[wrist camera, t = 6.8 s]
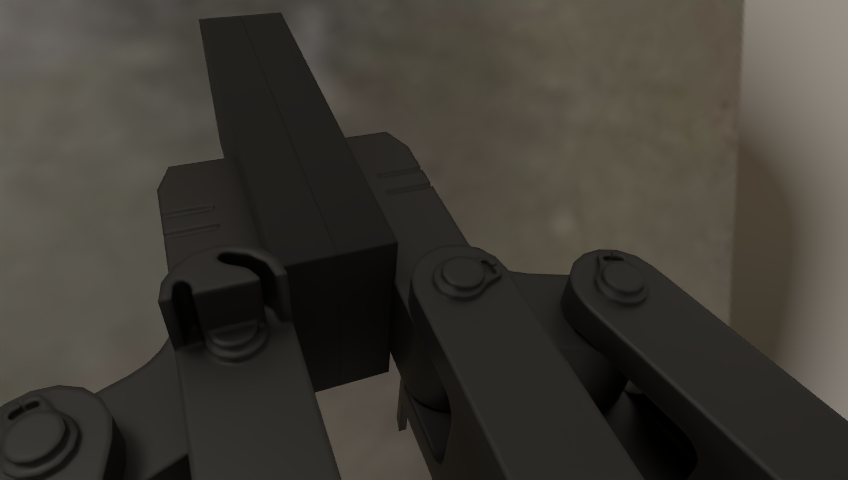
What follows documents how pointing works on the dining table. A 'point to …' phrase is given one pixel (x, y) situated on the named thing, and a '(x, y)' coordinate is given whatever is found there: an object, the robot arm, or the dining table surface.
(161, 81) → the dining table surface
